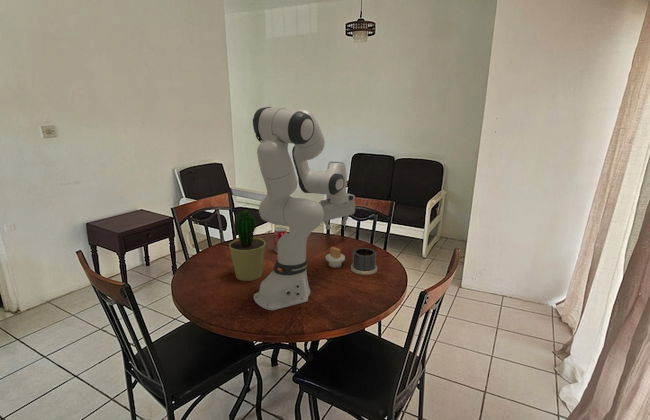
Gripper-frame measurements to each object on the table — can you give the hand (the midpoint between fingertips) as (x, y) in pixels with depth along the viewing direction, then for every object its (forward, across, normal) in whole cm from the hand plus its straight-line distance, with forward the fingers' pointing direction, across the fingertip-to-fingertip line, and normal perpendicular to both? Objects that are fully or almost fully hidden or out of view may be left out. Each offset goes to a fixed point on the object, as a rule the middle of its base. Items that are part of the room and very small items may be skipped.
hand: (336, 226), depth 168 cm
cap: (+19, 0, 0) cm, 19 cm away
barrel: (+19, +7, -12) cm, 23 cm away
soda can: (+19, -11, +30) cm, 37 cm away
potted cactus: (+19, -37, +15) cm, 44 cm away
